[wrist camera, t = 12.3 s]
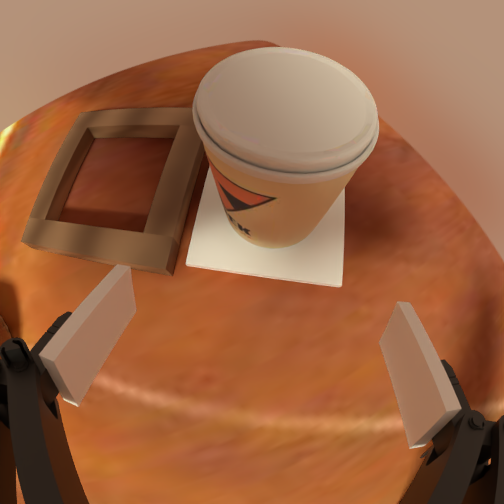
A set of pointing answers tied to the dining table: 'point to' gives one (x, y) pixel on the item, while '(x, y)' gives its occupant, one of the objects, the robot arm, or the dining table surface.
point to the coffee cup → (282, 139)
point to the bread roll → (3, 332)
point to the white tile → (264, 259)
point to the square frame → (163, 206)
